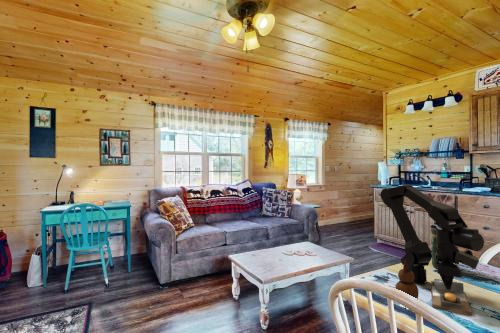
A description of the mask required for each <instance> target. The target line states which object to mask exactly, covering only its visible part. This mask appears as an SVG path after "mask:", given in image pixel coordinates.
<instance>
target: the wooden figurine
mask: <svg viewBox="0 0 500 333" xmlns="http://www.w3.org/2000/svg"><path fill="white" fill-rule="evenodd" d="M402 266H403V268H402V269H400V270H399V271H398V273H397V275H398V279H399V280H398V281H397V282H396V284H395V286H394V287H395V288H396V289H398V290H401V291H403V292H405V293H407V294H409V295H411V296H413V297H415V298H417V300H418V299H419V288H418V286H417V283H415V282H413V281H414V278H415V277H414V273H413V272H412V271H410V270H409V269H408V265H407V263H406V261H404V263H403V265H402ZM395 288H394V289H395Z"/></svg>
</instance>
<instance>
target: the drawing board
mask: <svg viewBox="0 0 500 333" xmlns="http://www.w3.org/2000/svg"><path fill="white" fill-rule="evenodd" d="M445 293H452V294H454V295H456V302H451V301H447V300H446V299H445ZM430 294H431V307H432V308H434V309H435V308H436V309H439V310H445V311H449V312H454V313H458V314H464V315H467V316H472V315H473V314H472V309H471V307H470V303H469V300H468V298H467V294H466V292H465V291H464V294H461V293H456V292H450V291H445V290H439V289H435V286H433V285H431V286H430Z"/></svg>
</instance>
